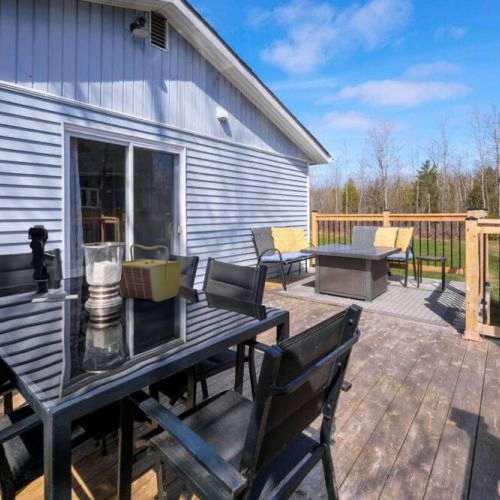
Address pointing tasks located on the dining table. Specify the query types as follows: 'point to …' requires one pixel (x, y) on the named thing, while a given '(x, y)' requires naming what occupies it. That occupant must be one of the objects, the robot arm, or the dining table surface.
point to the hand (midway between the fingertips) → (39, 276)
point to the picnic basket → (150, 277)
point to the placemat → (54, 299)
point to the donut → (56, 295)
